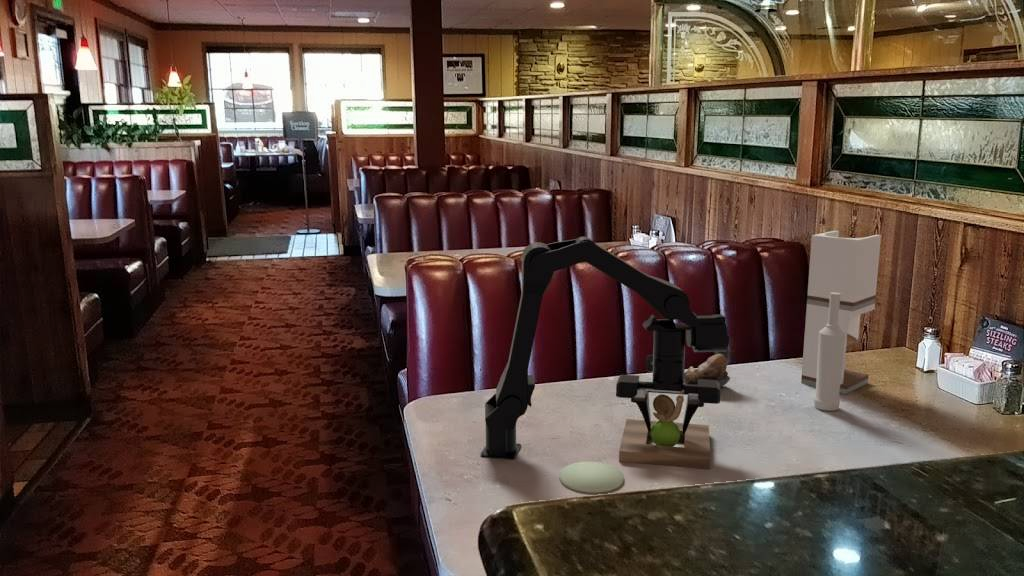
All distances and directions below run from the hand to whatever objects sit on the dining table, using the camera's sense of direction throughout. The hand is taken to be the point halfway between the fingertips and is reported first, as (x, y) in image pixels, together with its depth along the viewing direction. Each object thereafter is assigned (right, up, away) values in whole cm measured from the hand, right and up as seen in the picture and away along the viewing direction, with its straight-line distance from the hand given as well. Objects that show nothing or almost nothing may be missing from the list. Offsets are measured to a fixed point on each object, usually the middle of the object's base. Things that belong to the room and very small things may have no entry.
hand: (666, 432), depth 147 cm
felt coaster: (-15, -6, -12) cm, 20 cm away
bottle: (+38, +1, +21) cm, 44 cm away
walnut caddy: (0, -3, +1) cm, 3 cm away
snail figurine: (0, -3, 0) cm, 3 cm away
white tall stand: (+47, +5, +36) cm, 59 cm away
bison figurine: (+15, +4, +33) cm, 37 cm away
